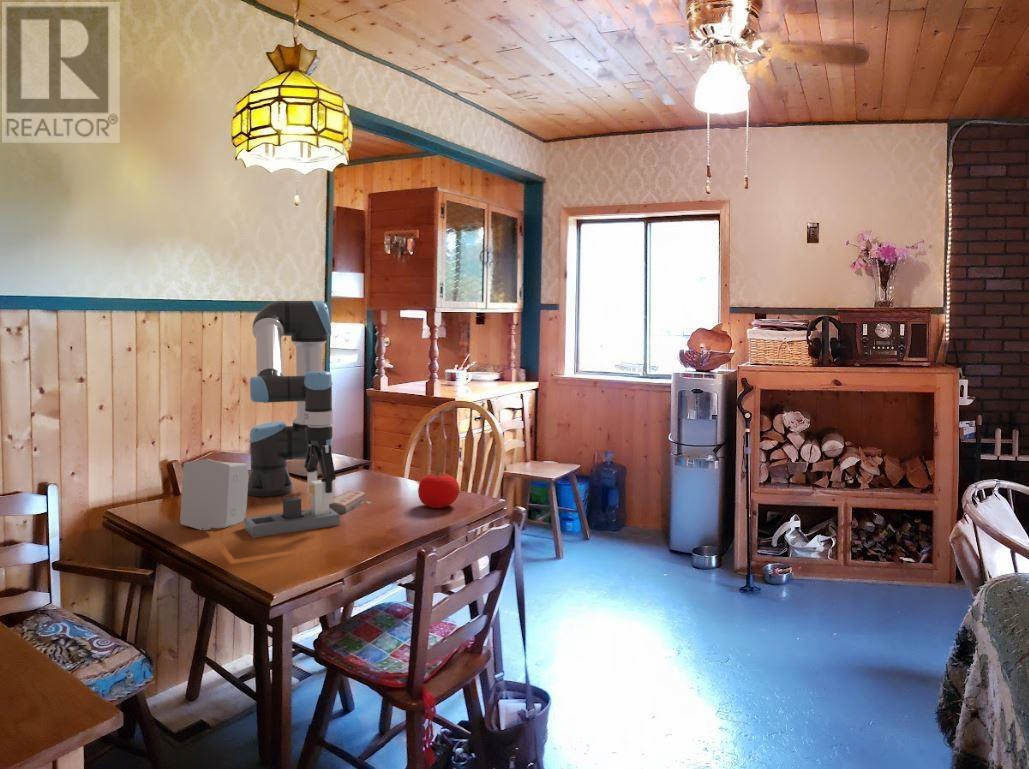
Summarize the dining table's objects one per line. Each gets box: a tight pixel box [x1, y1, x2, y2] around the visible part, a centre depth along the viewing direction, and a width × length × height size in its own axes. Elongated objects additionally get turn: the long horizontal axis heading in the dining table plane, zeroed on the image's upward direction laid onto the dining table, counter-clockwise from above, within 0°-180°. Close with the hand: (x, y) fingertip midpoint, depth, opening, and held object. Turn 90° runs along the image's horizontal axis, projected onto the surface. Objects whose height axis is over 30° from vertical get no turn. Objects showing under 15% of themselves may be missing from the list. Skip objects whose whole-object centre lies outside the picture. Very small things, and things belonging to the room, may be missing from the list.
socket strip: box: [243, 508, 341, 539], centre depth 213 cm, size 10×24×4 cm, turn 123°
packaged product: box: [329, 490, 373, 514], centre depth 235 cm, size 18×5×10 cm
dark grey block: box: [282, 496, 302, 520], centre depth 213 cm, size 4×4×8 cm
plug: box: [309, 479, 329, 516], centre depth 217 cm, size 4×5×12 cm
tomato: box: [417, 472, 460, 509], centre depth 240 cm, size 12×13×11 cm
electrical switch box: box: [179, 458, 249, 531], centre depth 220 cm, size 15×15×20 cm
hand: (319, 498), depth 217 cm, fingers open, 13 cm apart
